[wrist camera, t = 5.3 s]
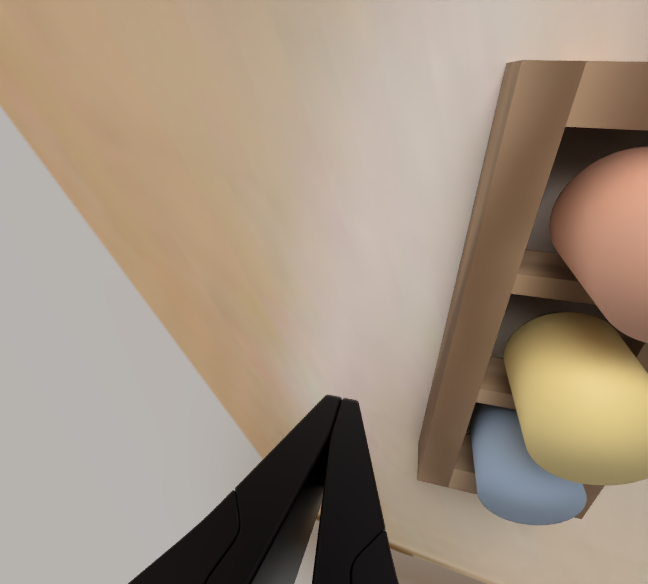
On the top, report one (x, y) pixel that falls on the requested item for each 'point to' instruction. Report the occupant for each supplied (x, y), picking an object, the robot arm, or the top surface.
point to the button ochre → (580, 399)
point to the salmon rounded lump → (609, 236)
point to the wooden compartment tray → (516, 244)
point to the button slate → (517, 473)
